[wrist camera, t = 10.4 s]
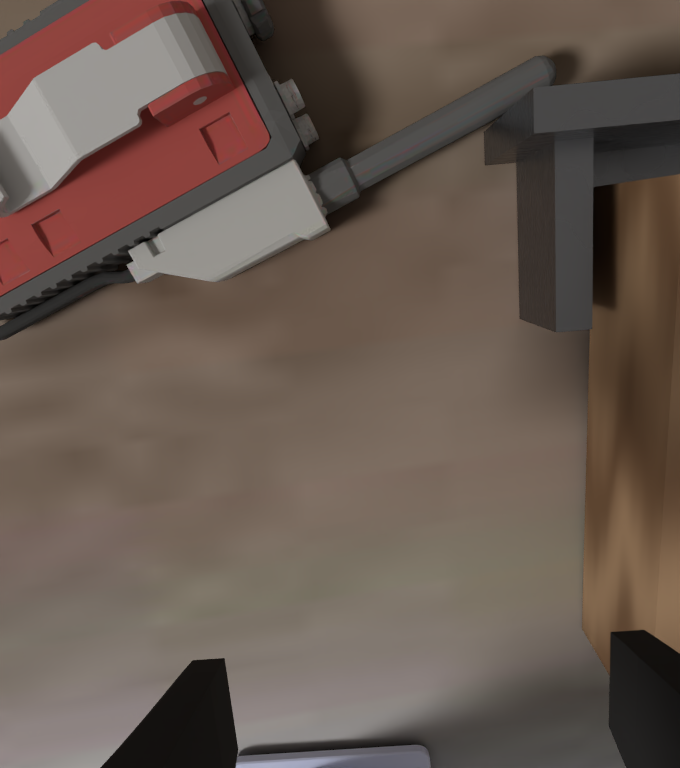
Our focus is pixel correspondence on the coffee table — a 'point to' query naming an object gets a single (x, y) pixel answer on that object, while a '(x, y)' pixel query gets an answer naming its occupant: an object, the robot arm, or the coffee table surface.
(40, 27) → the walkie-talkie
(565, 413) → the coffee table surface
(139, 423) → the coffee table surface
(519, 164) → the bracket
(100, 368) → the coffee table surface
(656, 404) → the brown long rectangular block
